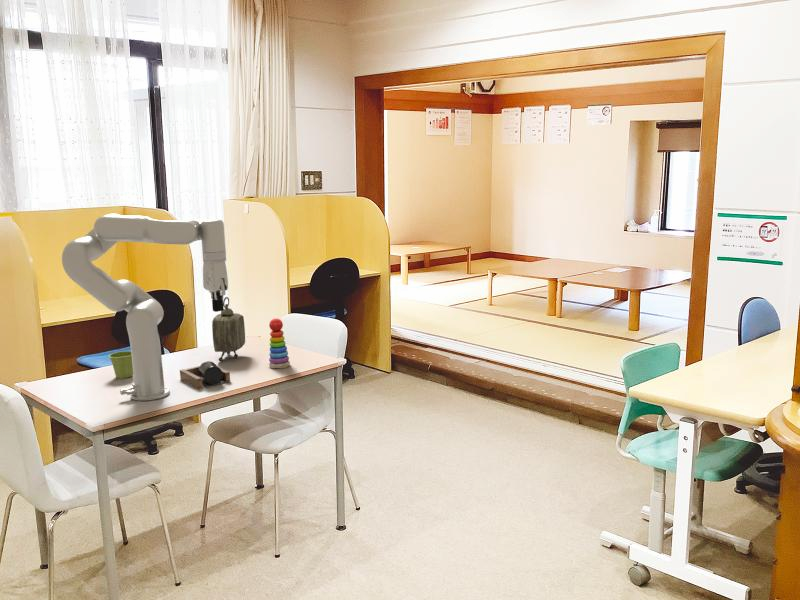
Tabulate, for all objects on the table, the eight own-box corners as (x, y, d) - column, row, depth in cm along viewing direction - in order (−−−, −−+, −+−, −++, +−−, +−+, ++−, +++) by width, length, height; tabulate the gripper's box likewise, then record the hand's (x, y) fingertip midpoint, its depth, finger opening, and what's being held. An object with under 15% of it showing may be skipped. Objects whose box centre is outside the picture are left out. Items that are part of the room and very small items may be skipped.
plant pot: (107, 380, 264) (105, 358, 262) (115, 373, 273) (112, 351, 271) (133, 379, 265) (131, 356, 263) (140, 372, 274) (138, 350, 272)
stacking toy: (291, 363, 280) (288, 316, 276) (288, 368, 272) (285, 320, 268) (270, 363, 280) (267, 316, 276) (267, 369, 272) (264, 321, 268)
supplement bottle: (209, 363, 251) (201, 356, 262) (200, 381, 251) (192, 373, 261) (226, 370, 255) (217, 362, 265) (218, 388, 254) (209, 379, 264)
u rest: (198, 389, 250) (197, 379, 250) (180, 379, 262) (179, 370, 262) (230, 381, 258) (229, 372, 257) (211, 372, 270) (211, 363, 269)
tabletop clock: (225, 353, 297) (221, 294, 293) (247, 353, 297) (242, 293, 292) (214, 363, 283) (209, 300, 279) (237, 362, 283) (232, 300, 278)
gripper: (194, 255, 242) (198, 309, 245) (213, 259, 230) (217, 315, 234) (215, 253, 247) (219, 306, 250) (234, 257, 235) (238, 312, 238)
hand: (218, 310), depth 242 cm, fingers closed
